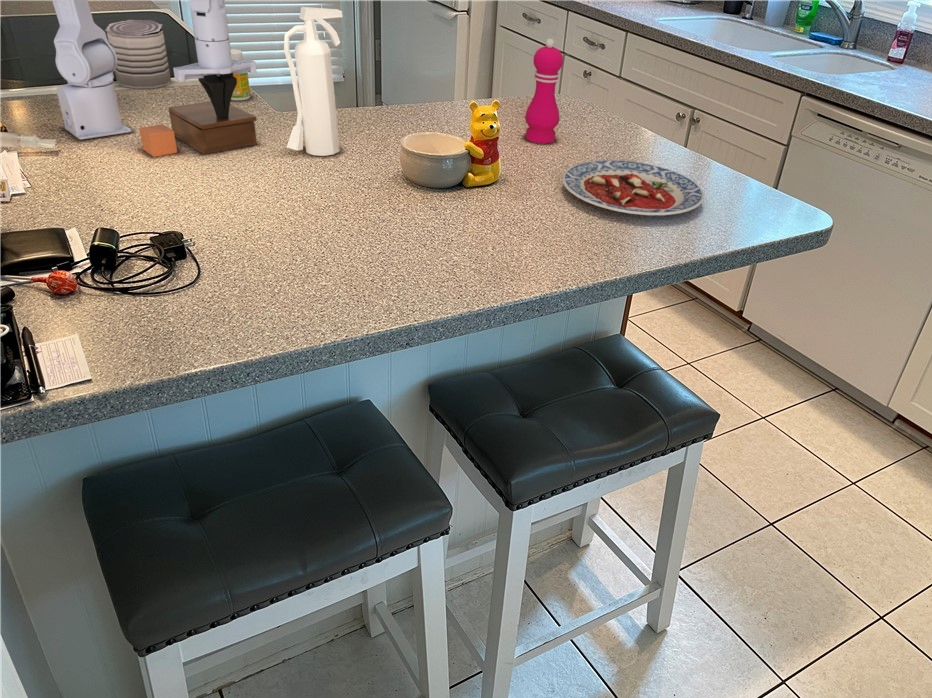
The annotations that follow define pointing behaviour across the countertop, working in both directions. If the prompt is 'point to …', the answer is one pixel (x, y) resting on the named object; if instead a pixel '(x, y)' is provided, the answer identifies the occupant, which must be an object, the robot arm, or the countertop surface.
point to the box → (214, 135)
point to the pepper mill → (544, 95)
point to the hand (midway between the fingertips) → (222, 117)
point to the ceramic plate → (633, 187)
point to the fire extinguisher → (314, 84)
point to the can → (139, 54)
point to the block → (158, 140)
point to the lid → (210, 115)
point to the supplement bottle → (240, 80)
